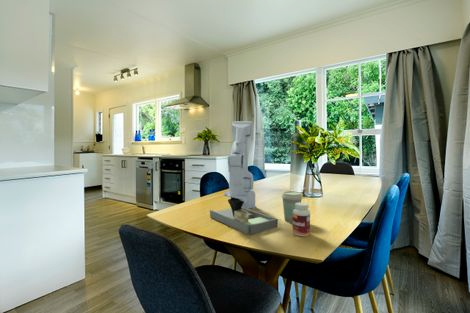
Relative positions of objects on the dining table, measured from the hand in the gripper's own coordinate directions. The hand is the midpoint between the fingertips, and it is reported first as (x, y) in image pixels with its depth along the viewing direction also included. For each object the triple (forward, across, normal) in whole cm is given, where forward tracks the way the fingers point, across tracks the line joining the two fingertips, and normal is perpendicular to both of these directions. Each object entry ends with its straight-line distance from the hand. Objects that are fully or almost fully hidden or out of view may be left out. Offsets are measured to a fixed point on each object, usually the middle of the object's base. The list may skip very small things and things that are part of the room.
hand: (236, 216), depth 100 cm
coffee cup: (+3, +11, +22) cm, 24 cm away
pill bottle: (+3, +23, +13) cm, 26 cm away
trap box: (+3, -1, +4) cm, 5 cm away
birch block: (+1, +3, 0) cm, 4 cm away
